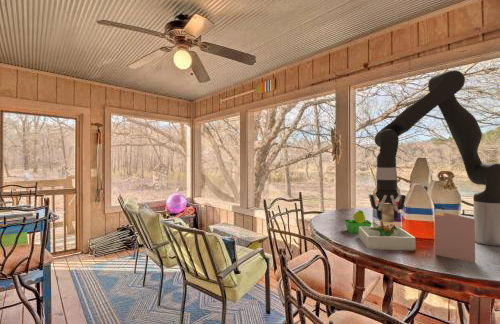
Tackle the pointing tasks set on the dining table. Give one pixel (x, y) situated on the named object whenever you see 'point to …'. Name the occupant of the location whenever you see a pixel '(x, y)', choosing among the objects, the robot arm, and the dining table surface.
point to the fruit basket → (357, 222)
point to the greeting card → (455, 237)
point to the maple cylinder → (387, 212)
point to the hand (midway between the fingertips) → (387, 219)
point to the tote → (387, 239)
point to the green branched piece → (385, 230)
